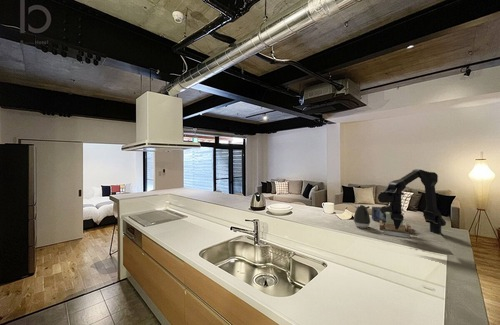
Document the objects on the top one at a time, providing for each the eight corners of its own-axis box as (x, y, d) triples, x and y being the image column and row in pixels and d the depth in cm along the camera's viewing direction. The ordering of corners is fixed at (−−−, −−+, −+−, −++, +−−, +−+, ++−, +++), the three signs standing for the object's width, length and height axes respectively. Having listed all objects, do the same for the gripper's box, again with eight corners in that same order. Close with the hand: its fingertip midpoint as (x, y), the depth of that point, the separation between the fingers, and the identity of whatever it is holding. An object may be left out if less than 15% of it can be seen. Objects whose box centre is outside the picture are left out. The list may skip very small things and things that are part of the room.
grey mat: (383, 231, 135) (383, 230, 135) (408, 235, 128) (408, 234, 128) (383, 234, 129) (383, 233, 129) (410, 238, 122) (410, 237, 122)
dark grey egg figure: (373, 229, 140) (373, 206, 140) (358, 229, 140) (358, 206, 140) (365, 224, 150) (365, 203, 150) (351, 224, 150) (351, 203, 150)
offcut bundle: (385, 229, 139) (385, 223, 139) (405, 232, 134) (405, 225, 134) (385, 230, 138) (385, 223, 138) (405, 233, 132) (405, 226, 132)
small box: (373, 221, 157) (373, 207, 157) (371, 219, 164) (371, 206, 164) (389, 223, 154) (389, 208, 154) (386, 220, 160) (386, 207, 160)
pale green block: (386, 226, 146) (386, 212, 146) (402, 228, 141) (402, 213, 141) (386, 227, 143) (386, 213, 143) (402, 229, 138) (402, 214, 138)
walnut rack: (379, 224, 151) (379, 220, 151) (409, 228, 142) (409, 223, 142) (379, 230, 138) (379, 225, 138) (412, 234, 129) (412, 229, 129)
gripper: (380, 198, 141) (380, 221, 141) (380, 203, 125) (380, 229, 125) (400, 200, 135) (400, 224, 135) (403, 205, 119) (403, 232, 119)
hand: (395, 227), depth 129 cm, fingers open, 9 cm apart
